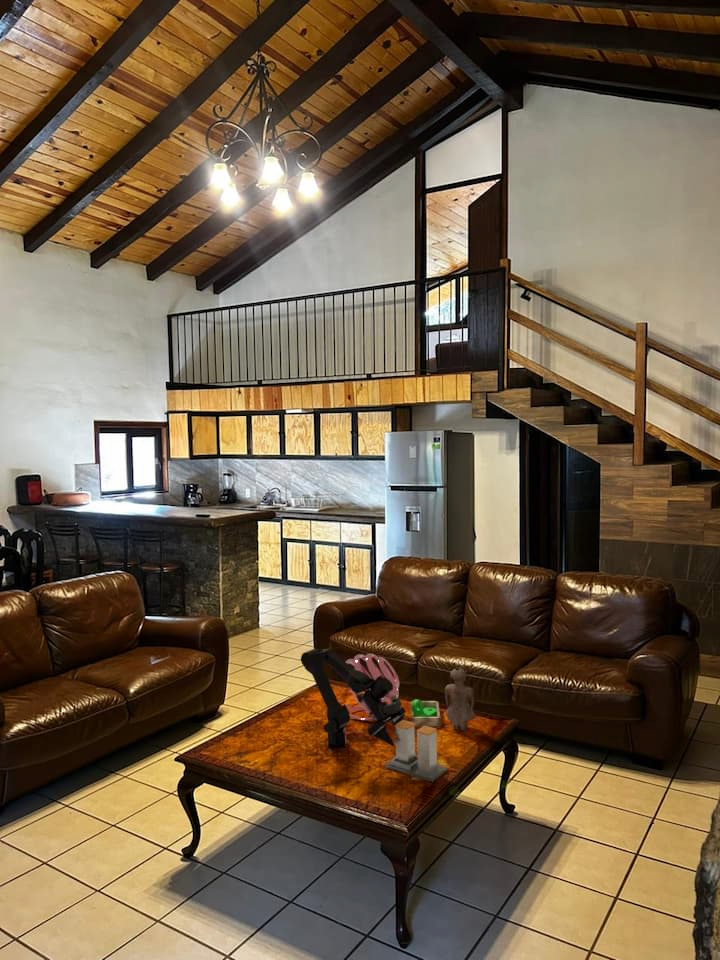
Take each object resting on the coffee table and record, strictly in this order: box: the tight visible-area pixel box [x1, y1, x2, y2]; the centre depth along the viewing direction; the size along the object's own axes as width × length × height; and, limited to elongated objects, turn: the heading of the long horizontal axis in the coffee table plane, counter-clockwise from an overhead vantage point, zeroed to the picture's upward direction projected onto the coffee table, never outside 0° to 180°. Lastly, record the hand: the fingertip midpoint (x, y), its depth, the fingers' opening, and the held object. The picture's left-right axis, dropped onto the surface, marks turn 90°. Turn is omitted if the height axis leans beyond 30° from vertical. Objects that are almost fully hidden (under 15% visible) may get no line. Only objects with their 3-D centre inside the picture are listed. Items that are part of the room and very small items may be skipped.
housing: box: [384, 725, 448, 783], centre depth 256 cm, size 20×10×16 cm, turn 54°
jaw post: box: [394, 719, 416, 765], centre depth 259 cm, size 5×5×15 cm
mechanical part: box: [410, 698, 437, 717], centre depth 304 cm, size 12×6×8 cm, turn 137°
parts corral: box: [410, 700, 441, 727], centre depth 303 cm, size 12×18×4 cm, turn 177°
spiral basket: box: [345, 653, 400, 722], centre depth 306 cm, size 28×28×27 cm
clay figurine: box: [444, 667, 476, 731], centre depth 290 cm, size 13×10×25 cm
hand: (400, 740), depth 260 cm, fingers open, 9 cm apart
